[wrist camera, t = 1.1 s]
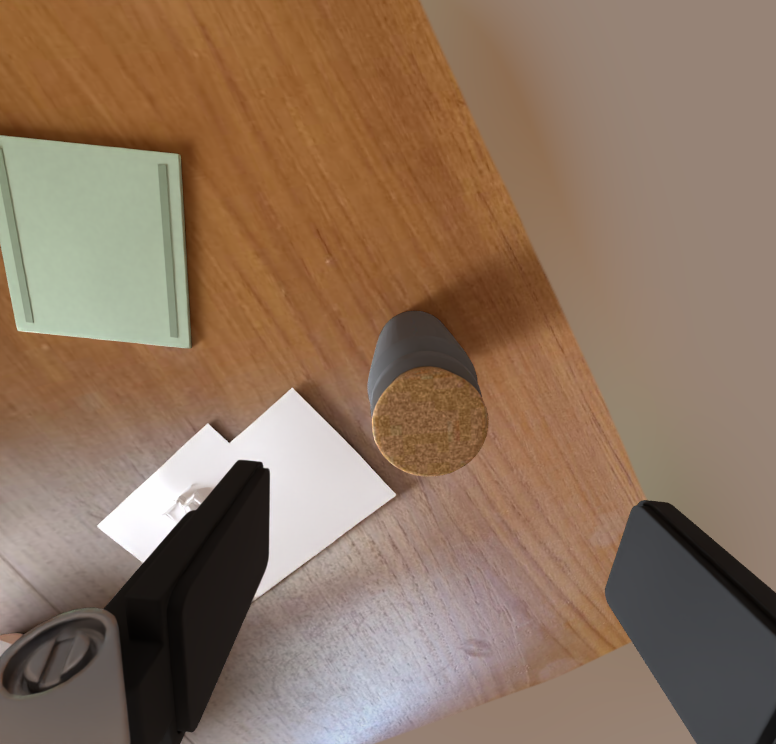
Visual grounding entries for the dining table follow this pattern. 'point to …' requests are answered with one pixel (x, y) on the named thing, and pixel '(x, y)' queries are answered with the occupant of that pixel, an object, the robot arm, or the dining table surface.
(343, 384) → the dining table surface
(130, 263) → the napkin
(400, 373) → the bottle
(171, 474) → the paper
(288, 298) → the dining table surface
